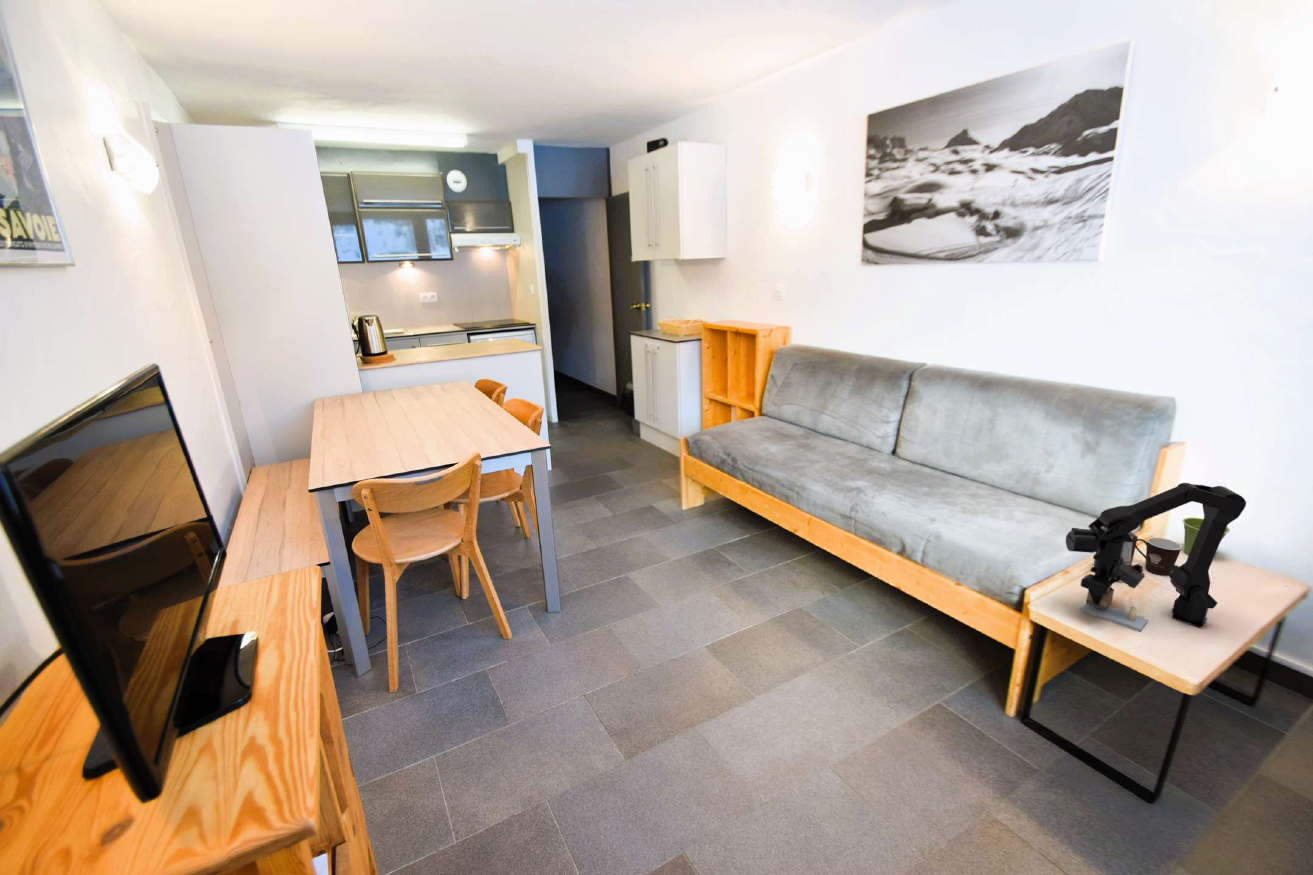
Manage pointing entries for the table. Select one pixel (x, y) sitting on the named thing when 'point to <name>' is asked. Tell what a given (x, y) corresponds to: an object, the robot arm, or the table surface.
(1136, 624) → the pin board
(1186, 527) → the plant pot
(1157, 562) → the coffee mug
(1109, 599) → the sleeve
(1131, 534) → the coffee box
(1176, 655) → the table surface
